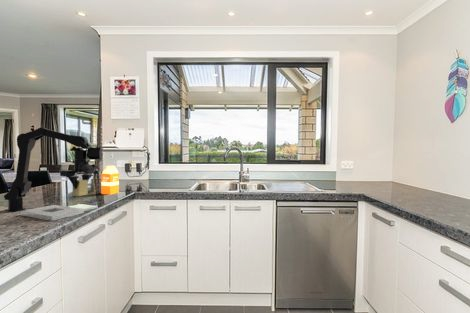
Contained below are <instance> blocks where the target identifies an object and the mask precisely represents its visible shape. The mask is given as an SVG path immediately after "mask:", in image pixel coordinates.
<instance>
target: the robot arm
mask: <svg viewBox="0 0 470 313" xmlns="http://www.w3.org/2000/svg"><path fill="white" fill-rule="evenodd" d="M44 137H47V138H51V139H52V138H53V139H56V140H59V141H63V142H66V143H69V144H71V145H73V146H72V147H71V148H70V149H69V151H70V152H71V151H72V152H73V153H74V159H73V161H72V164H74V167H73V168H72V170H69V169H67V170H65V169H63V170H61V171H60V172H59V177H66V178H68V179H69V181H70V183H71V185H72V188H73V187H74V189H77V180H79V179H78V178H79V177H80V176H79V175H81V179H84V180H88V181H89V180H90V179H91V177H94V175H99V170H98V164H96V163H95V164H89V161H88V160H90V161H91V160H94V161H95V160H96V161H99V160H100V161H101V160H102V159H103V151H102V147H100V146H99V147H98V146H97V147H92V146H91V145H90V143H89V140H88V138H87V137H85V136H80V135H74V134H67V133H63V132H59V131H55V130H52V129H48V128H47V127H39V128H36V129H34V130H30V131H28V132H25V133H19V135H17V137H16V145H17V148H18V160H17V166H16V173H15V178H14V180H13V181H12V183H11V186H10V187H9V188H10V189H9V191H8V192H7V193H5V194H4V195H3V197H4V200H5V201H7V207H8V208H7V209H4V211H5V212H11V213H14V212H18V211H24V210H27V208H25V207H24V197H26V195H27V194H28V193H29V192H30V190H32V188H31V187H32V181H29V179H28V174H29V168H30V160H31V153H32V150H33V149H34V147H35V145H36V143H37V141H38V140H40V139H43V138H44ZM85 149H86V150H85ZM87 158H88V160H87Z"/></svg>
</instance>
